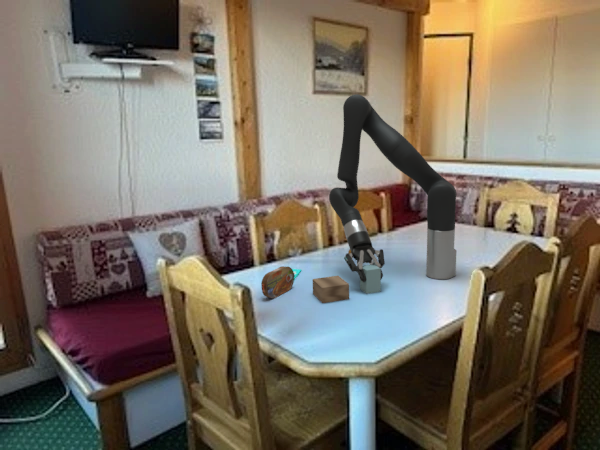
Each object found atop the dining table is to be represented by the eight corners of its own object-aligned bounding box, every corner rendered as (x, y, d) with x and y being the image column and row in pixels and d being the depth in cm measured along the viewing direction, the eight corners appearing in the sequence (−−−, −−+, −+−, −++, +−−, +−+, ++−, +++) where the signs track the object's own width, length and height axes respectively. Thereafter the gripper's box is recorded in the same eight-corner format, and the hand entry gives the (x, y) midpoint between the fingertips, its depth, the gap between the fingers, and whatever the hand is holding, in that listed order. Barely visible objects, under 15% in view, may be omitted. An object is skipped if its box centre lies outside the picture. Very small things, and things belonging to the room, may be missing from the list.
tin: (268, 302, 149) (266, 276, 148) (260, 300, 151) (259, 275, 149) (295, 287, 162) (294, 263, 160) (287, 285, 163) (286, 262, 161)
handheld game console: (302, 272, 179) (302, 268, 178) (290, 286, 164) (290, 283, 163) (277, 271, 181) (276, 267, 181) (263, 285, 166) (263, 281, 166)
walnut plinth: (338, 289, 158) (338, 275, 157) (349, 299, 149) (349, 284, 148) (312, 293, 155) (312, 279, 154) (322, 303, 147) (322, 287, 146)
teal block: (373, 286, 159) (373, 264, 158) (380, 291, 155) (380, 268, 153) (360, 288, 158) (360, 266, 156) (366, 293, 153) (366, 270, 152)
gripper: (340, 232, 157) (355, 277, 149) (379, 228, 161) (396, 272, 153) (335, 244, 163) (349, 288, 155) (372, 239, 167) (388, 282, 159)
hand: (372, 279), depth 154 cm, fingers closed on teal block, 5 cm apart
